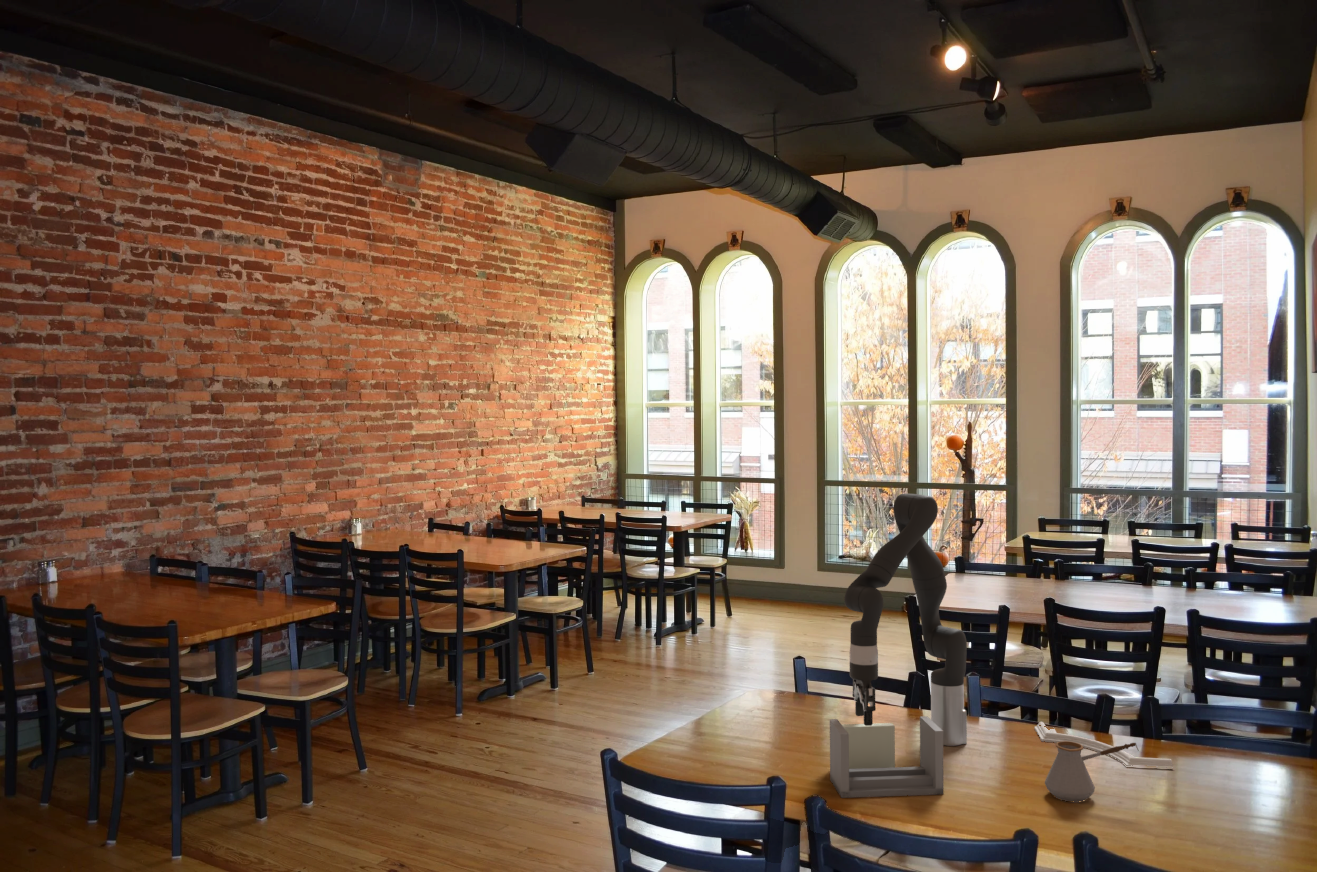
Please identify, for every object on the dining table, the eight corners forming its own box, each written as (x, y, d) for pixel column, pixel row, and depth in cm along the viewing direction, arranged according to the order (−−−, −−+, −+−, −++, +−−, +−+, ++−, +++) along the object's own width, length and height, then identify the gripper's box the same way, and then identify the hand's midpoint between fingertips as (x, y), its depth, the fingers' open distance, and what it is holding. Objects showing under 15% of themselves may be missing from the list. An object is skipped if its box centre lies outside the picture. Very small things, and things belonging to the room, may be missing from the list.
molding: (1181, 769, 261) (1181, 758, 261) (1156, 778, 254) (1156, 767, 254) (1042, 728, 297) (1042, 718, 296) (1017, 735, 290) (1017, 725, 290)
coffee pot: (1045, 802, 239) (1045, 741, 238) (1043, 785, 249) (1043, 727, 249) (1142, 813, 231) (1141, 750, 231) (1136, 795, 242) (1135, 735, 242)
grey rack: (927, 776, 256) (927, 716, 256) (943, 794, 244) (943, 730, 244) (830, 779, 255) (829, 719, 255) (841, 797, 243) (840, 733, 243)
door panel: (892, 766, 264) (892, 722, 264) (896, 771, 261) (895, 726, 261) (834, 768, 263) (833, 724, 263) (837, 773, 260) (836, 728, 260)
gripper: (885, 666, 255) (885, 728, 255) (870, 653, 269) (870, 712, 270) (856, 667, 255) (856, 728, 255) (843, 654, 269) (843, 712, 269)
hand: (863, 720), depth 262 cm, fingers open, 8 cm apart
